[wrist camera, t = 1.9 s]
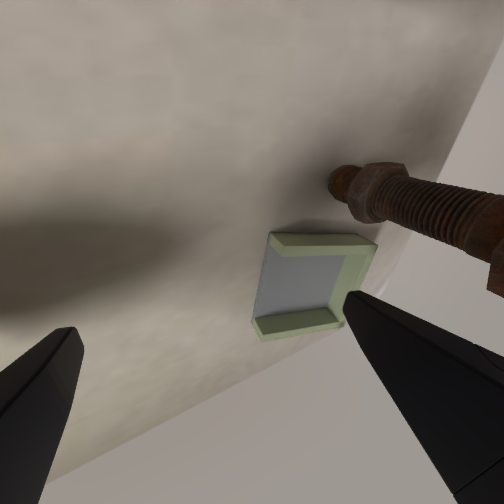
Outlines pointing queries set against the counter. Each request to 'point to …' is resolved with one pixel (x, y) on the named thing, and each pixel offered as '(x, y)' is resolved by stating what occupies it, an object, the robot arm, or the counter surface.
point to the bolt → (427, 210)
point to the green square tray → (308, 282)
